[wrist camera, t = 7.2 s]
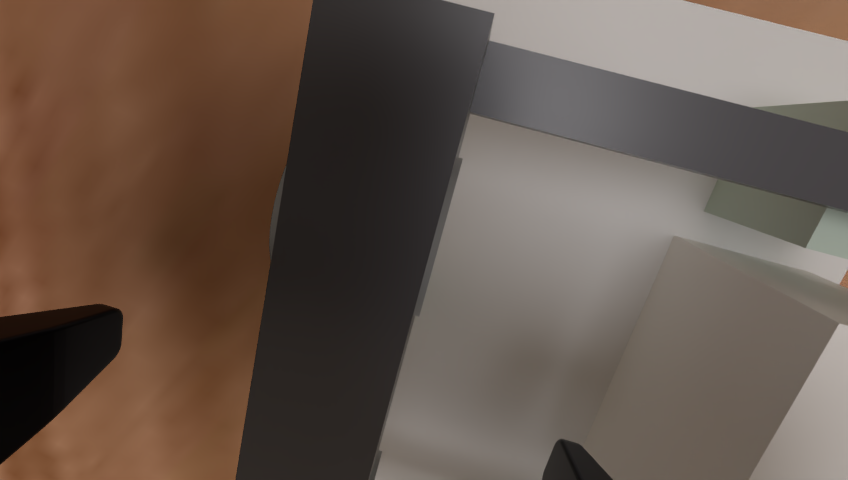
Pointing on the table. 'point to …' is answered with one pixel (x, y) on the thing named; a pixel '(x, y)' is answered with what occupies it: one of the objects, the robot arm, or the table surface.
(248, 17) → the table surface
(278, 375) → the glasses
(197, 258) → the table surface
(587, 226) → the display stand
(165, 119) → the table surface
